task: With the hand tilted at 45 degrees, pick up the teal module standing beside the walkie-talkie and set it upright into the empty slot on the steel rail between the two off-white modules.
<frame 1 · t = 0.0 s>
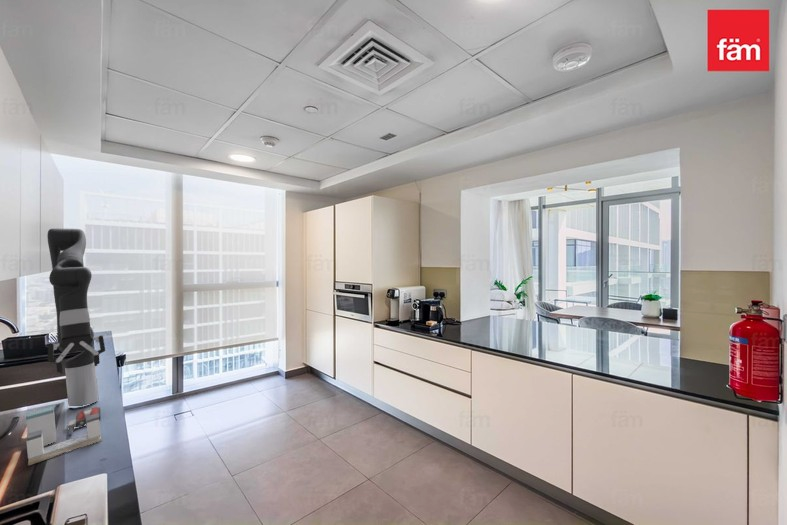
hand: (79, 369, 112), 22 cm above the table, tool pointing down, fingers open, 8 cm apart
walkie-talkie: (84, 425, 119), on the table
teal module: (43, 444, 107), on the table
mounted modules: (65, 434, 103), on the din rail, point 5 cm above the table
wood panel: (66, 448, 103), on the table
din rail: (66, 444, 103), on the wood panel, point 1 cm above the table
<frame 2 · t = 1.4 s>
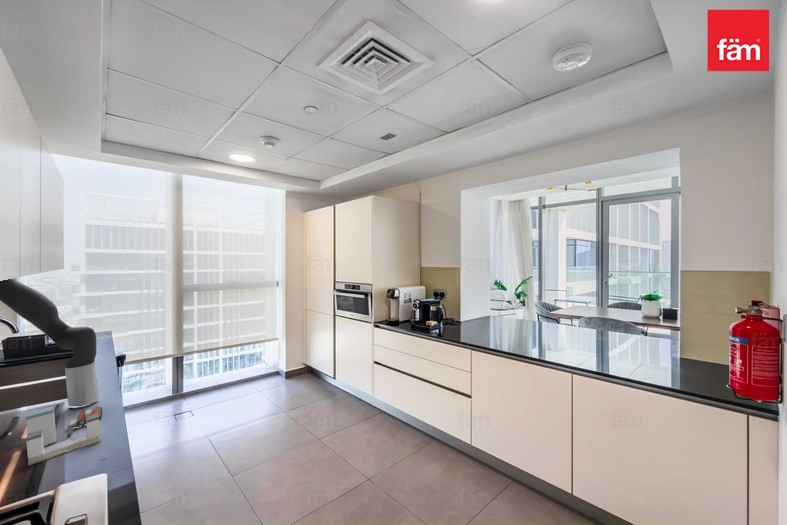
nothing on the table moved.
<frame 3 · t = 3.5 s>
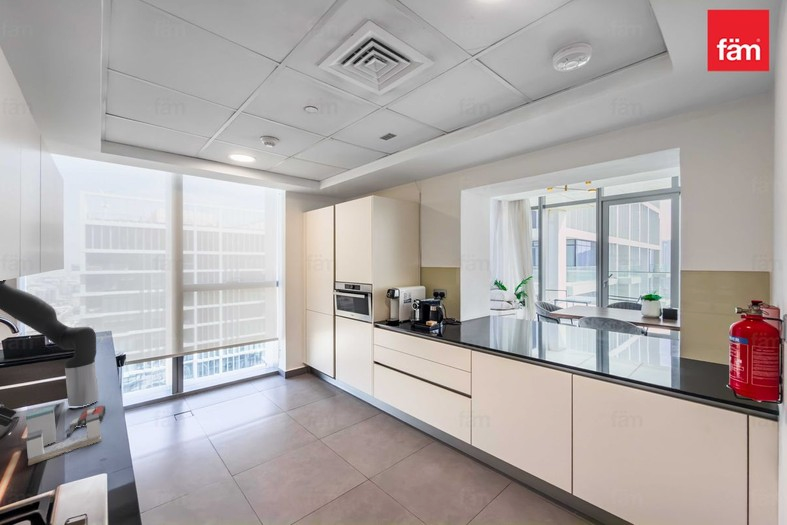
hand: (12, 418, 103), 11 cm above the table, tool tilted 45°, fingers open, 8 cm apart
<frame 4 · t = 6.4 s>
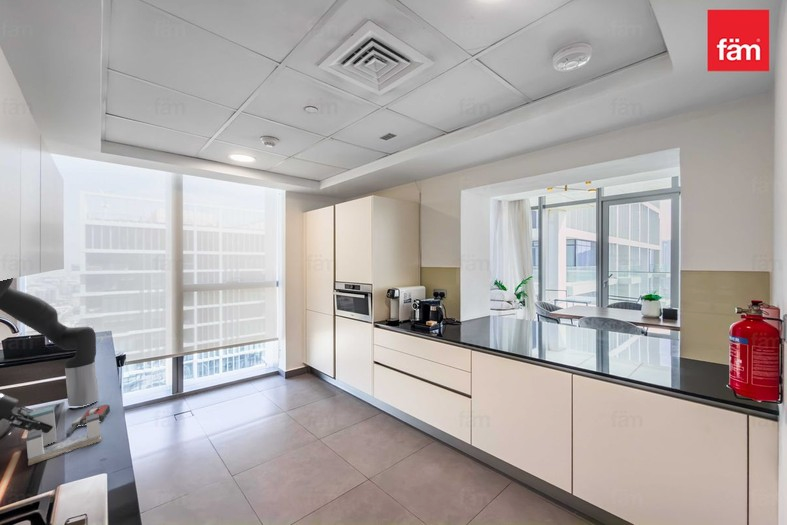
hand: (50, 427, 108), 5 cm above the table, tool tilted 45°, fingers closed on teal module, 4 cm apart
teal module: (43, 444, 107), on the table, touching gripper
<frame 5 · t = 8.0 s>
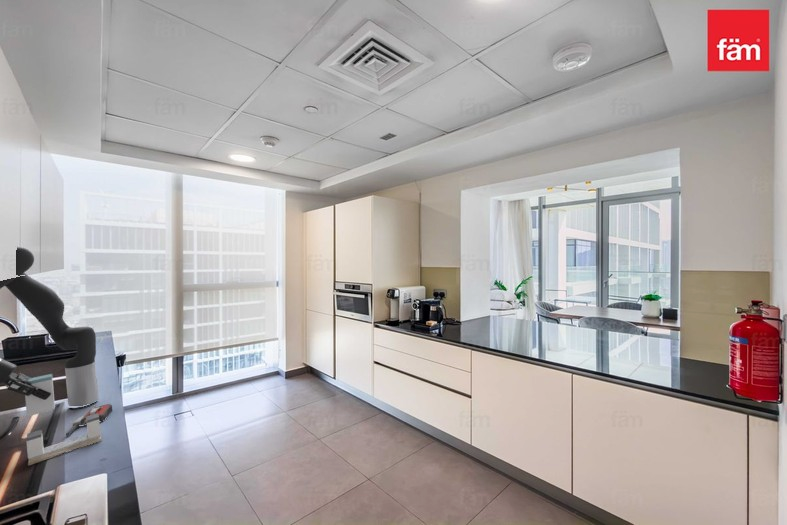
hand: (48, 394, 107), 16 cm above the table, tool tilted 45°, fingers closed on teal module, 4 cm apart
teal module: (41, 411, 106), point 11 cm above the table, touching gripper
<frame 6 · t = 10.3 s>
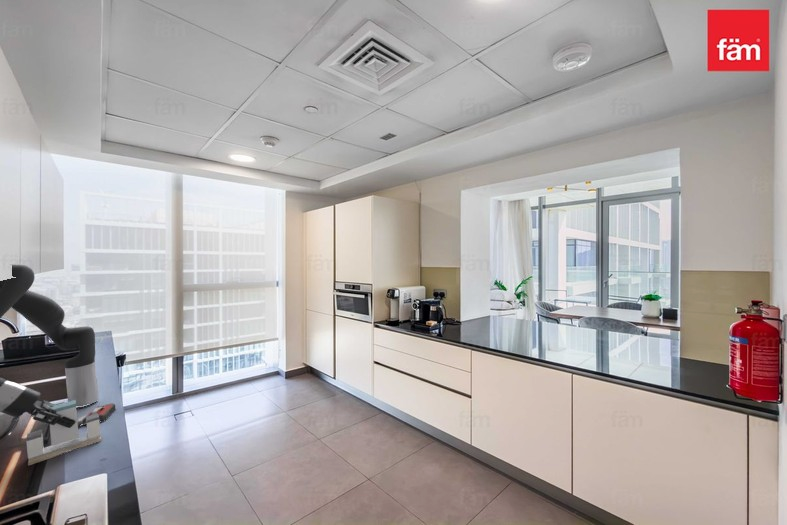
hand: (72, 422, 104), 8 cm above the table, tool tilted 45°, fingers closed on teal module, 4 cm apart
teal module: (65, 439, 103), point 3 cm above the table, touching gripper
when the fingers open (8 cm above the table, at t = 11.0 s): teal module drops 1 cm, resting on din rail.
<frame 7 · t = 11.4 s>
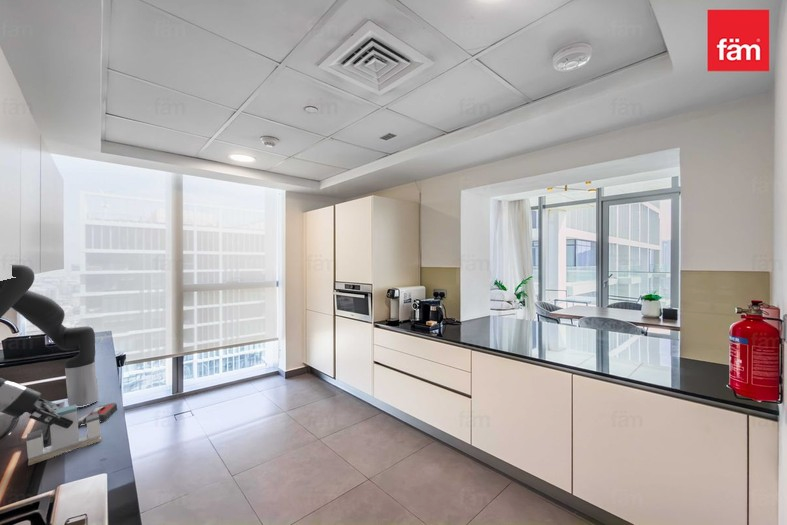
hand: (70, 420, 104), 8 cm above the table, tool tilted 45°, fingers open, 8 cm apart
teal module: (66, 443, 103), point 2 cm above the table, touching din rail
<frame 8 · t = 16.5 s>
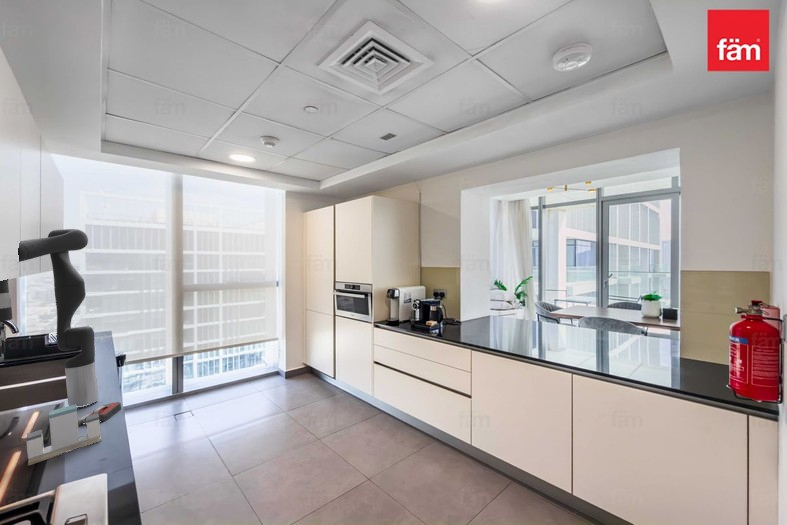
at the end: teal module 0.2 cm off-centre on the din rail, point 1.6 cm above the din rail's base; teal module tilted 0°; the gripper is holding nothing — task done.
